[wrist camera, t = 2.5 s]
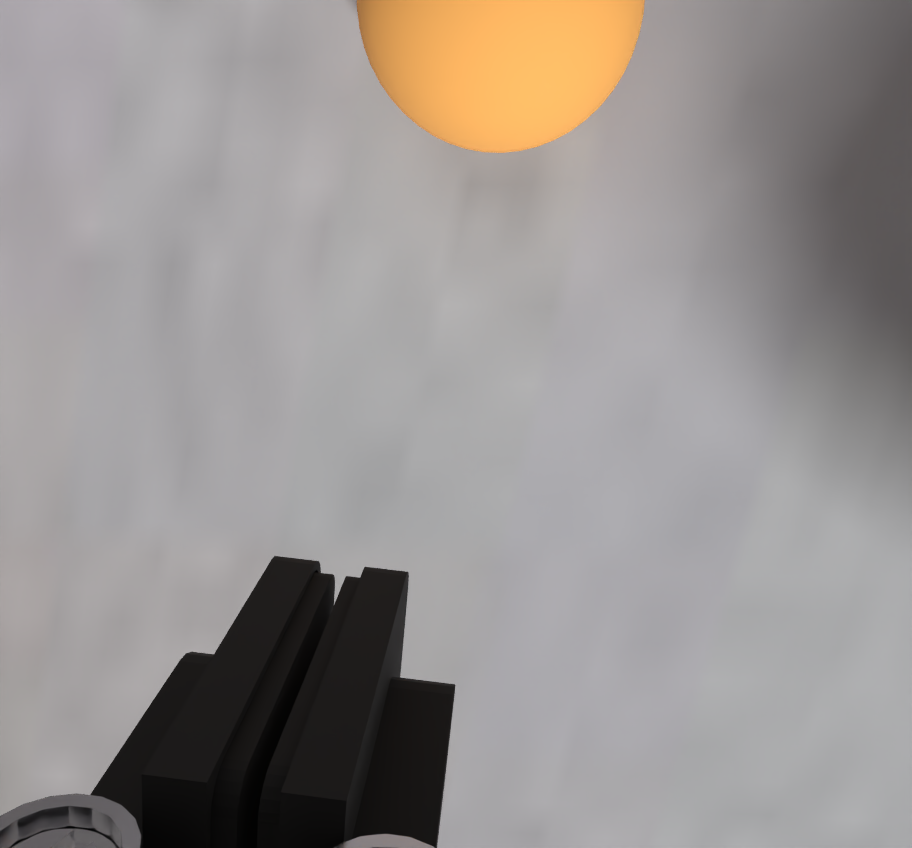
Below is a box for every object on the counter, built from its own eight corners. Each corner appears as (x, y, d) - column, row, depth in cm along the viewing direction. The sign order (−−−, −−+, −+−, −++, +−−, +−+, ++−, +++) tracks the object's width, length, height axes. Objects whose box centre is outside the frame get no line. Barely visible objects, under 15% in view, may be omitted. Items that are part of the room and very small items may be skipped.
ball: (648, -104, 20) (693, -211, 14) (609, 165, 22) (635, 166, 16) (392, -126, 20) (335, -238, 15) (375, 141, 22) (318, 134, 16)
